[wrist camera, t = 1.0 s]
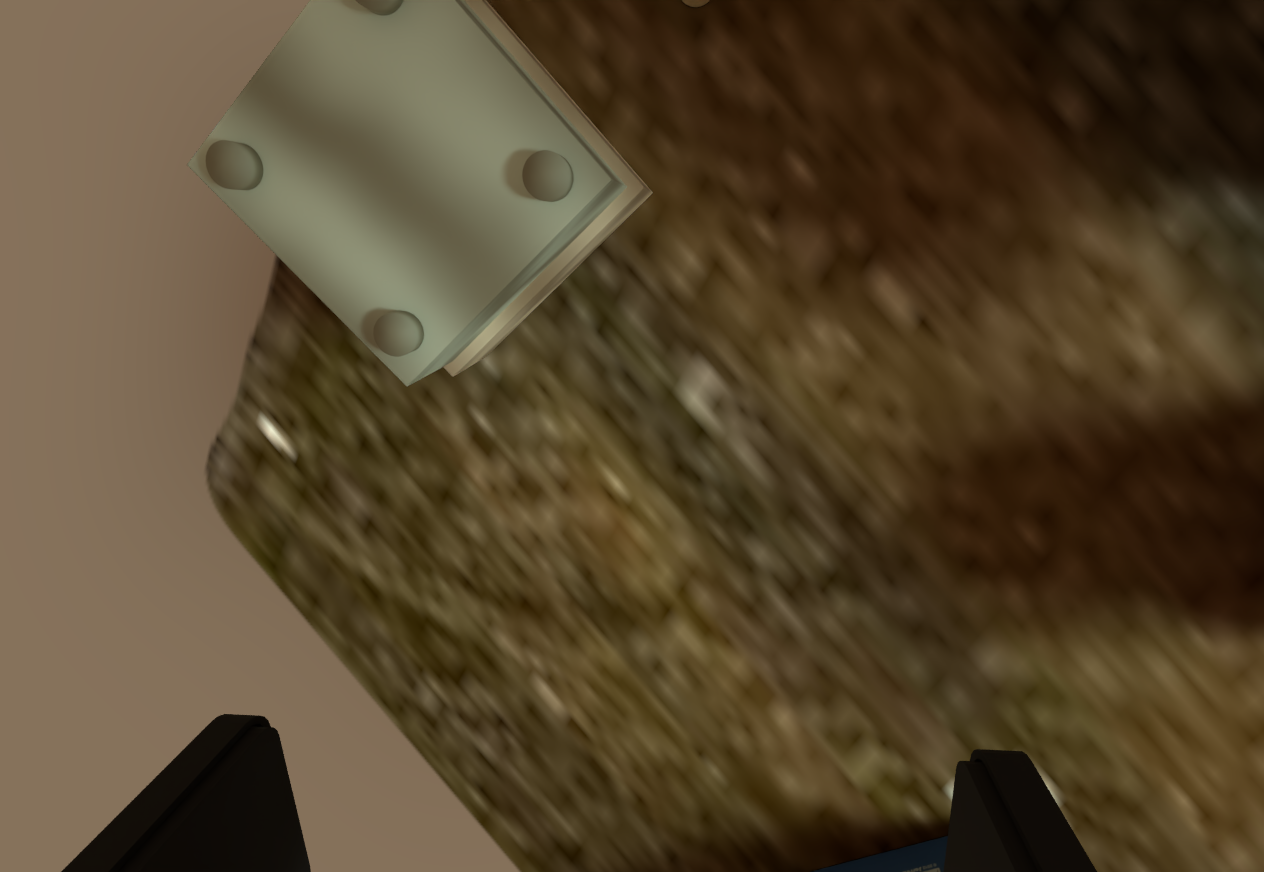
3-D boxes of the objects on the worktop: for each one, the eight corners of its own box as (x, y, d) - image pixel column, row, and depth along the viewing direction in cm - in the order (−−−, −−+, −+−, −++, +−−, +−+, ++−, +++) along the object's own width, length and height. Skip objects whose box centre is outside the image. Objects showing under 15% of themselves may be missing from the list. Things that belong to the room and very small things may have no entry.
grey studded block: (476, -12, 31) (363, -129, 21) (653, 192, 33) (629, 178, 23) (317, 180, 34) (151, 162, 24) (486, 356, 36) (399, 409, 26)
